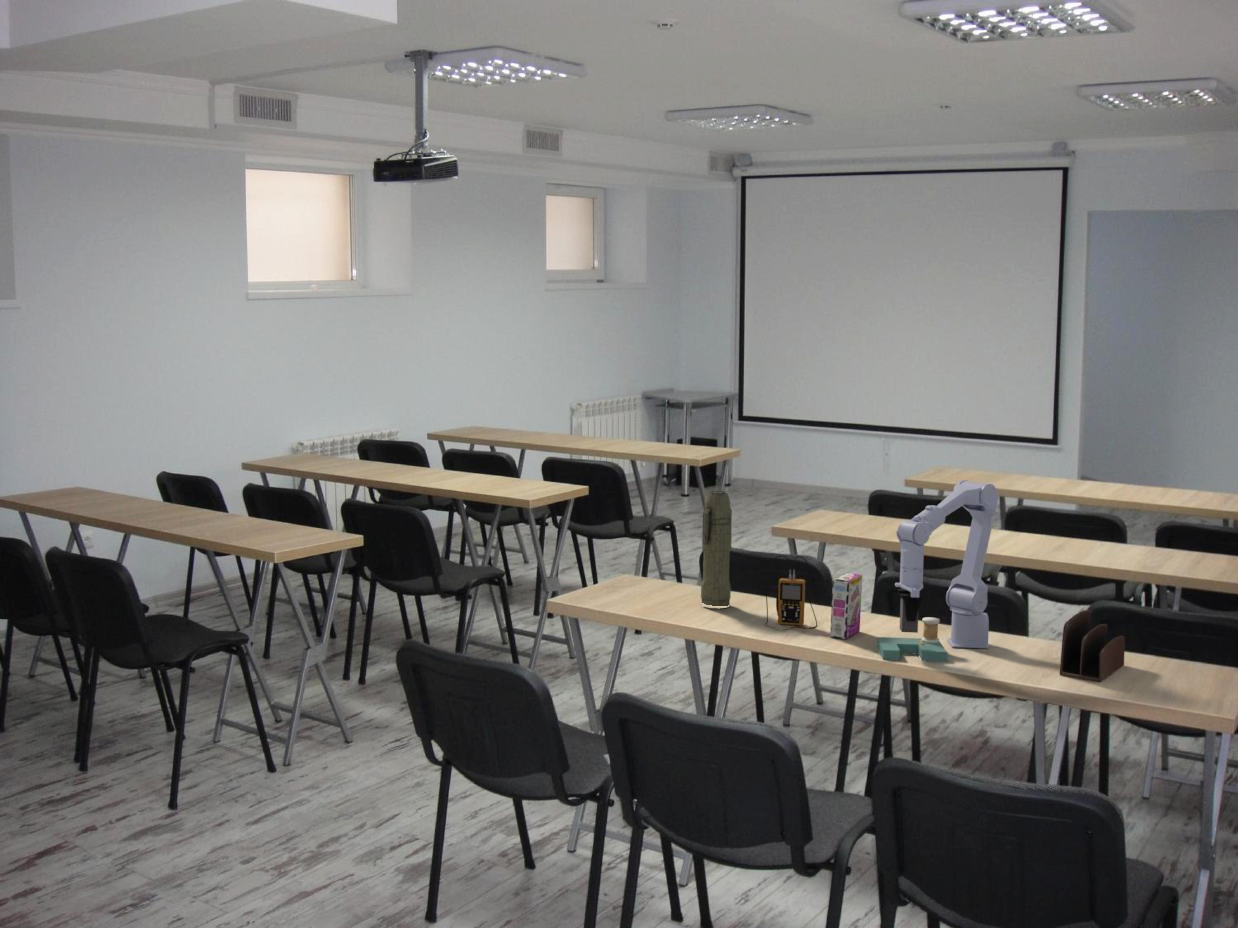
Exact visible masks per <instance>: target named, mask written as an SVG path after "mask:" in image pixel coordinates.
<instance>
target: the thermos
mask: <svg viewBox="0 0 1238 928" xmlns="http://www.w3.org/2000/svg"><path fill="white" fill-rule="evenodd" d="M732 512H733V511H732V507H731V501H730V497H729V494H728V493H727V492H726V491H725V490H724V491H722V490H711V491H710V492H707V494H706V496H705V500H704V510H703V513H702V531H701V532H702V534H701V535H702V537H701V539H702V540H701V542H702V543H701V548H702V552H703V562H702V564H703V565H702V567H703V568H702V569H703V570H702V580H701V584H700V599H701V603H704V604H706V605H712V606H728V605H730V603H731V602H730V600H731V593H732V590H731V589H732V588H731V587H732V586H731V582H730V554H731V550H732V534H733V533H732V522H733V521H732V519H733V518H732V516H733V515H732V514H733V513H732ZM730 606H731V605H730Z"/></svg>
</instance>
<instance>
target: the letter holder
mask: <svg viewBox="0 0 1238 928" xmlns="http://www.w3.org/2000/svg"><path fill="white" fill-rule="evenodd" d="M1091 615H1092V612H1091V610H1089V609H1087V610H1083V611H1082V610H1081V611H1080V612H1078V613H1076V614H1075V615H1073V616H1072V617H1070V618H1069V619H1068V620H1067V621H1066V622H1065V623H1064V625H1063V629H1062V637H1061V638H1062V639H1061V651H1060V665H1059V676H1060V677H1061V676H1062V677H1067V678H1073V679H1077V680H1083V681H1089V682H1094V683H1102V682H1103V681H1104V680H1106V679H1107V678H1108V677H1110V676H1111V675H1113V674H1114V673H1115V672H1117V671H1118V670H1119V669H1120V668H1122V667H1124V666H1125V653H1126V652H1125V651H1126V650H1125V645H1126V643H1125V641H1126V639H1125V636H1124V635H1119V636H1116V637H1113V638H1112V639H1111V640H1110V641H1107V640H1108V639H1107V638H1108V628H1109V627H1108V624H1107V623H1102V624H1101V623H1100V624H1098V625H1096V626H1094V627H1093V628H1091V618H1092V616H1091ZM1090 628H1091V629H1090Z"/></svg>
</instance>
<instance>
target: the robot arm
mask: <svg viewBox="0 0 1238 928" xmlns="http://www.w3.org/2000/svg"><path fill="white" fill-rule="evenodd" d="M999 497H1000V494H999V492H998V490H997V488H996V486H995V485H994V484H992V483H983V482H976V481H970V480H965V479H964V480H963V479H962V480H960V481H959V482H958V483H957V484H955V485H954V487H953V491H952V492H951V493H949V494H948V495H947V496H946V497H945V498H944V499H943V500H942V501H941V502H940V503H938V504H937V505H931V504H930V505H929V504H928V505H926V506H925V509H924V510H922V511H921V512H919V513H918V514H917V515H915V516H913V518H911V519H905V520H904V521H902V522H901V523H900V524H899V525H898V527H897V530H896V532H895V533H896V538H897V540H898V541H899V542H898V543H899V545H898V546H899V548H900V564H899V565H900V569H899V582H895V583H894V586H895V587H896V588H898V589H897V591H898V595H899V596H900V597H899V598H900V599H901V598H903V601H904V605H905V612H906V619H907V621H916V618H917V614H918V615H919V611H918V610H919V609H920V606H921V604H922V603H923V601H924V600H925V595H924V594H923V595H922V594H921V590H922V589H924V583H923V580H924V579H923V578H924V555H925V553H924V552H925V544H927V543H928V541H929V539H930V536H931V535H932V533H933V532H934V531H936V530H937V529H939V527H941V526H942V525H944V524H945V521H946V517H947V516H949V515H950V514H951V513H953V512H955V511H956V510H958V509H960V508H961V507H963V508H964V509H965V510H966V511H967V512H969V514H970V516H971V517H972V519H971V524H970V528H969V533H968V538H967V541H966V547H965V551H964V556H963V559H962V560H963V561H962V566H961V569H960V570H961V571H960V574H958V575H957V576H956V577H954V578H953V579H952V580H951V583H950V585H949V588H948V590H947V591H946V594H945V601H946V605H947V606H948V607H949V610H950V611H951V627H950V628H951V630H950V631H951V632H950V633H951V634H950V638H949V637H947V638H946V640H947V642H948V643H949V644H950V647H952V648H964V649H965V648H968V649H989V629H990V625H989V624H990V622H989V620H990V619H989V615H988V613H987V612H984V611H985V610H986V608H987V606H988V590H989V588H988V586H987V584H986V583H985V582H984V581H983V580H982V575H983V571H984V565H985V561H986V556H987V552H988V548H989V547H988V546H989V542H990V537H991V533H992V528H993V524H994V519H995V515H996V511H997V507H998V506H997V505H998V502H999ZM969 587H971V588H969Z"/></svg>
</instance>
